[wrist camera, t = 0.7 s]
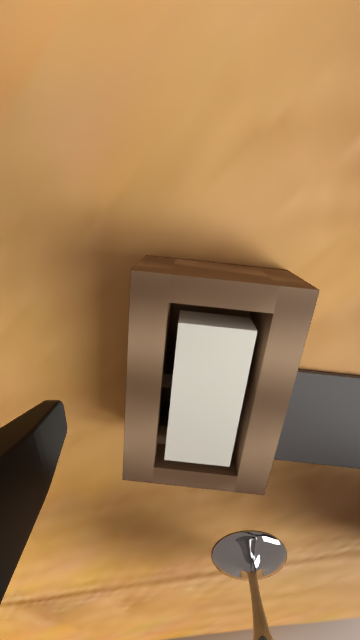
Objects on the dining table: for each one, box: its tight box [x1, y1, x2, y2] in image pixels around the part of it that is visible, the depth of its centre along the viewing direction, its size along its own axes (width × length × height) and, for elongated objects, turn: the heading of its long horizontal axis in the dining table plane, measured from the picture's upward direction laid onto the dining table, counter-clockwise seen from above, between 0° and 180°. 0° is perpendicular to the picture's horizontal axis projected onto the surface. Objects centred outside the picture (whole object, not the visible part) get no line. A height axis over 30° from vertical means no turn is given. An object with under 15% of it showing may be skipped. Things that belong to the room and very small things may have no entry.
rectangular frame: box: [123, 255, 319, 495], centre depth 19 cm, size 13×9×5 cm
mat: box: [274, 369, 360, 469], centre depth 22 cm, size 8×8×1 cm
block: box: [164, 310, 257, 467], centre depth 17 cm, size 9×4×2 cm, turn 174°
